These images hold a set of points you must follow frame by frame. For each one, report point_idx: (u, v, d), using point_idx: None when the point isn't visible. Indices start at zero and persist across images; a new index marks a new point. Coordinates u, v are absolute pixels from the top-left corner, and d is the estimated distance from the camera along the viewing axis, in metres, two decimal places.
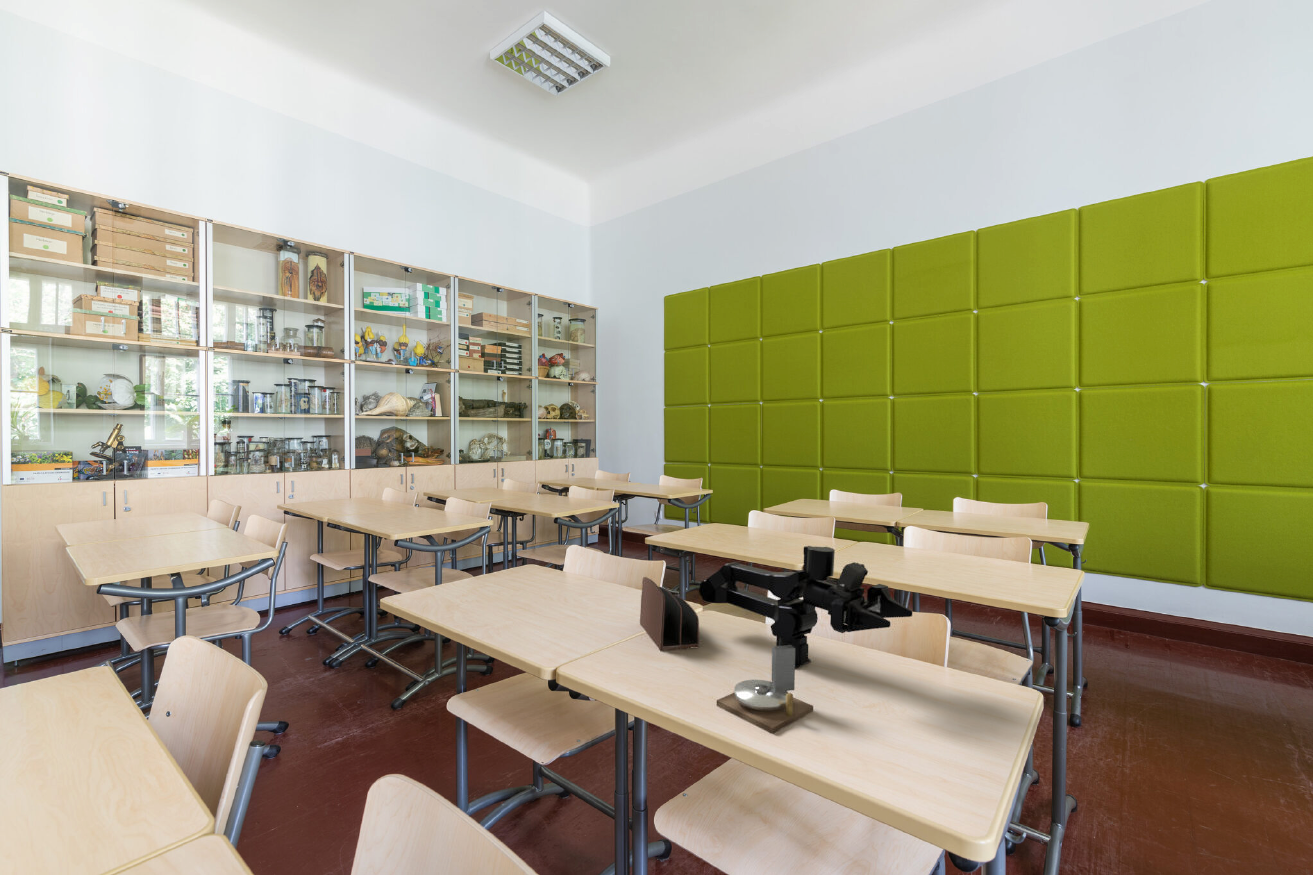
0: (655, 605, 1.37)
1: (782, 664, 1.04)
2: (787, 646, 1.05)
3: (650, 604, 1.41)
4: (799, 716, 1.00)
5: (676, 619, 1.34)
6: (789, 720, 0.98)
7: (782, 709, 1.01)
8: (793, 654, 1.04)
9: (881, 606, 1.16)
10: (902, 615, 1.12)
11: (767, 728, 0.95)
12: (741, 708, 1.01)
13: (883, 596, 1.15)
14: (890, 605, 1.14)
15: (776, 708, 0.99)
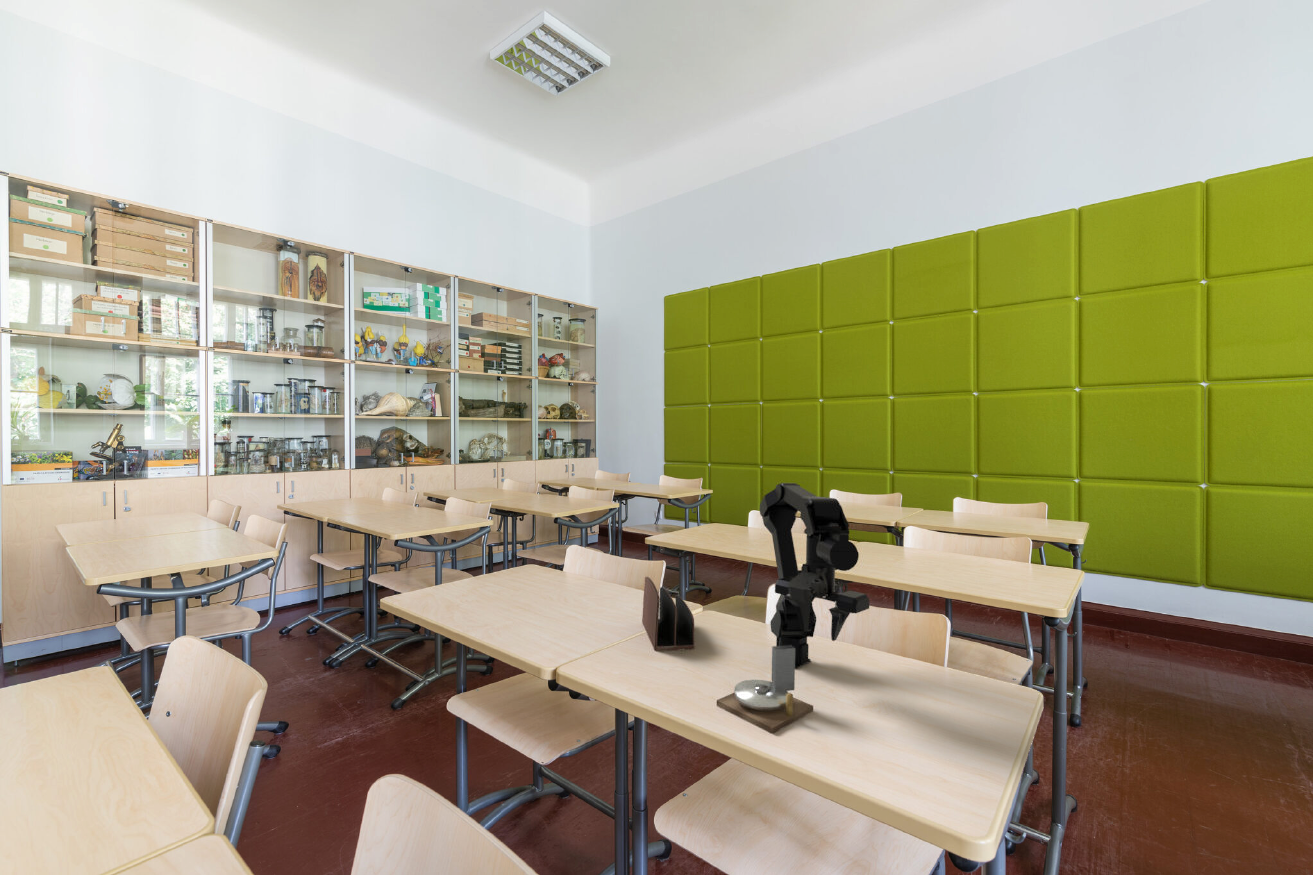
0: (652, 605, 1.37)
1: (782, 664, 1.04)
2: (787, 646, 1.05)
3: (649, 604, 1.41)
4: (799, 716, 1.00)
5: (672, 619, 1.34)
6: (789, 720, 0.98)
7: (782, 709, 1.01)
8: (793, 654, 1.04)
9: None
10: None
11: (767, 728, 0.95)
12: (741, 708, 1.01)
13: None
14: None
15: (776, 708, 0.99)
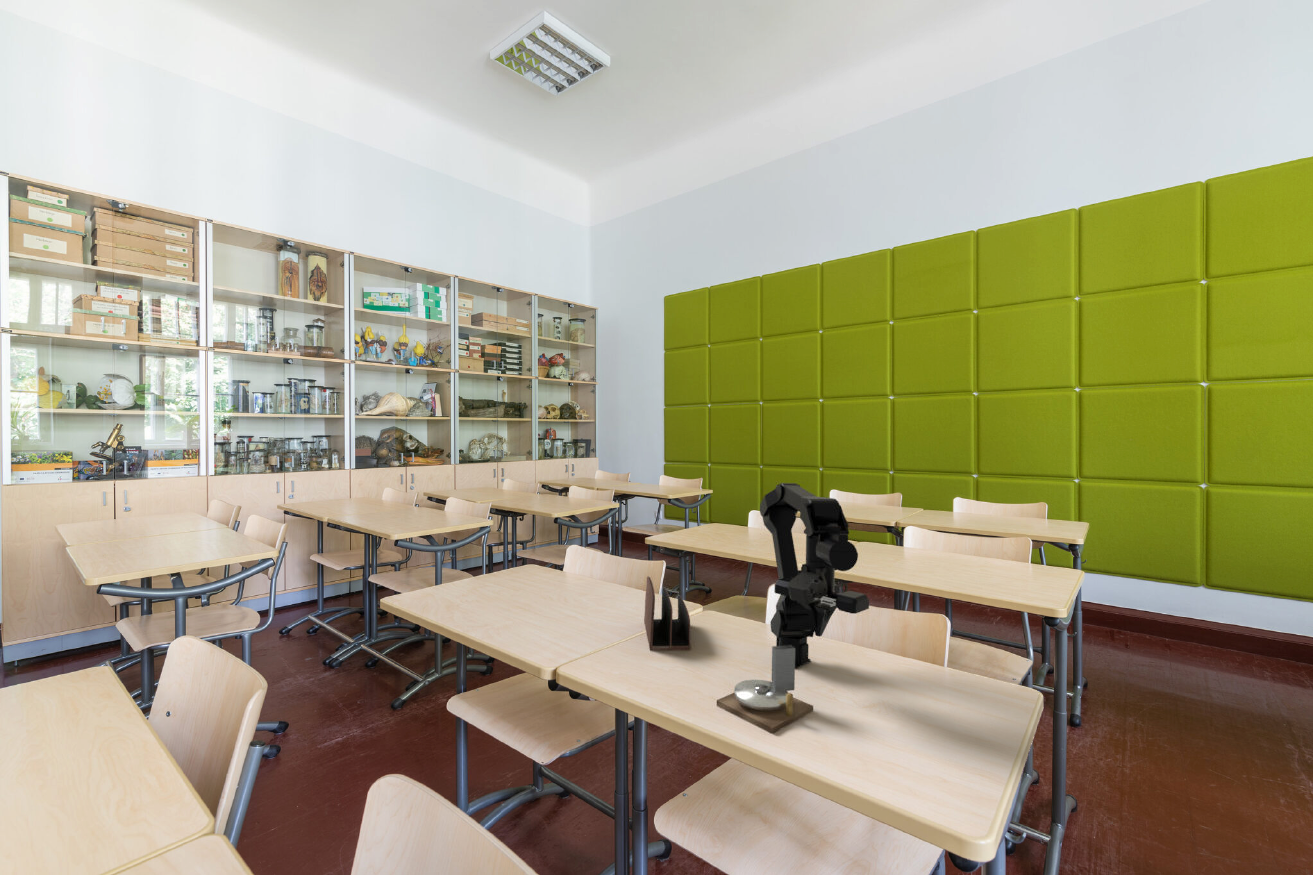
0: (650, 604, 1.37)
1: (782, 664, 1.04)
2: (787, 646, 1.05)
3: (648, 603, 1.41)
4: (799, 716, 1.00)
5: (668, 620, 1.34)
6: (789, 720, 0.98)
7: (782, 709, 1.01)
8: (793, 654, 1.04)
9: None
10: None
11: (767, 728, 0.95)
12: (741, 708, 1.01)
13: None
14: None
15: (776, 708, 0.99)
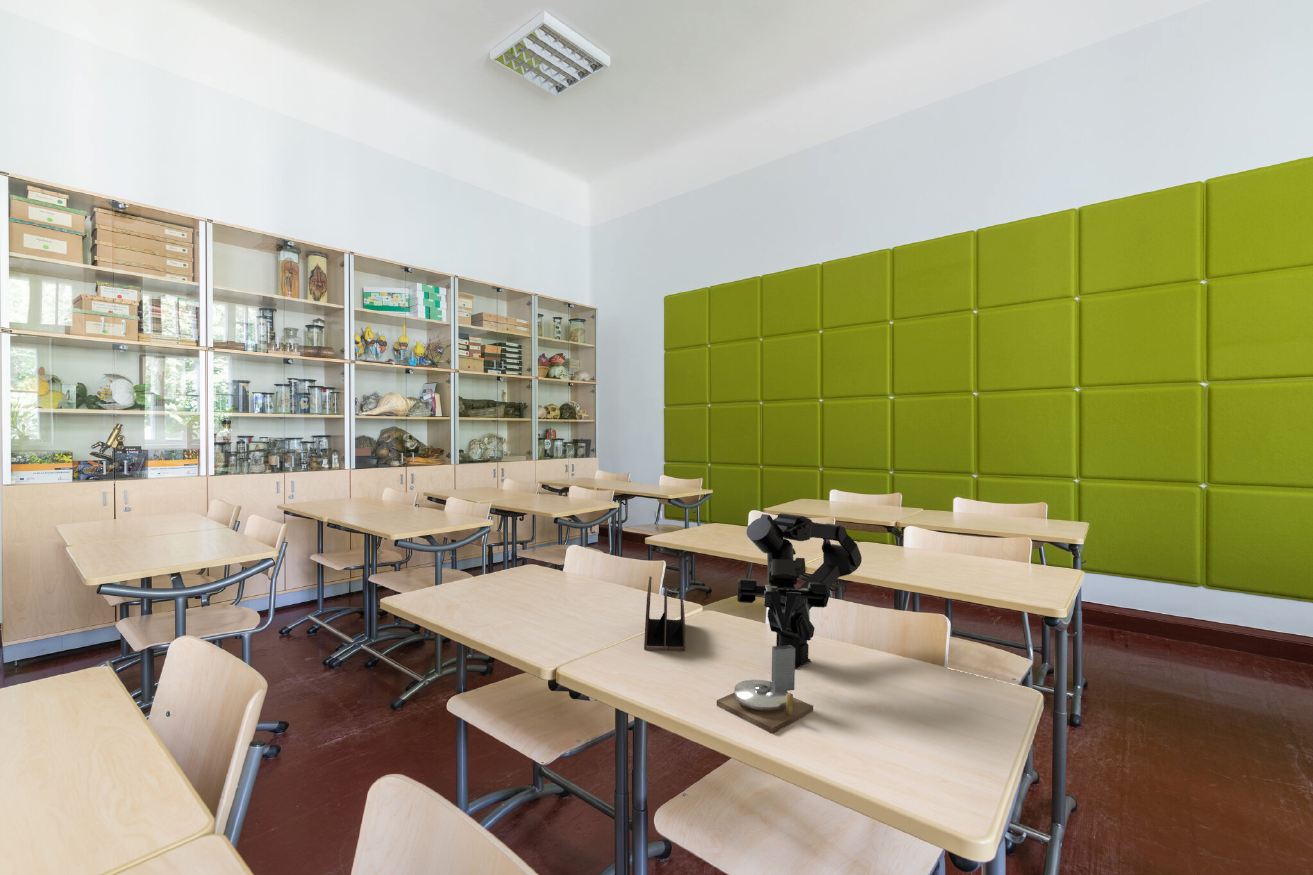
0: None
1: (782, 664, 1.04)
2: (787, 646, 1.05)
3: None
4: (799, 716, 1.00)
5: None
6: (789, 720, 0.98)
7: (782, 709, 1.01)
8: (793, 654, 1.04)
9: (786, 602, 1.15)
10: None
11: (767, 728, 0.95)
12: (741, 708, 1.01)
13: (786, 598, 1.13)
14: None
15: (776, 708, 0.99)
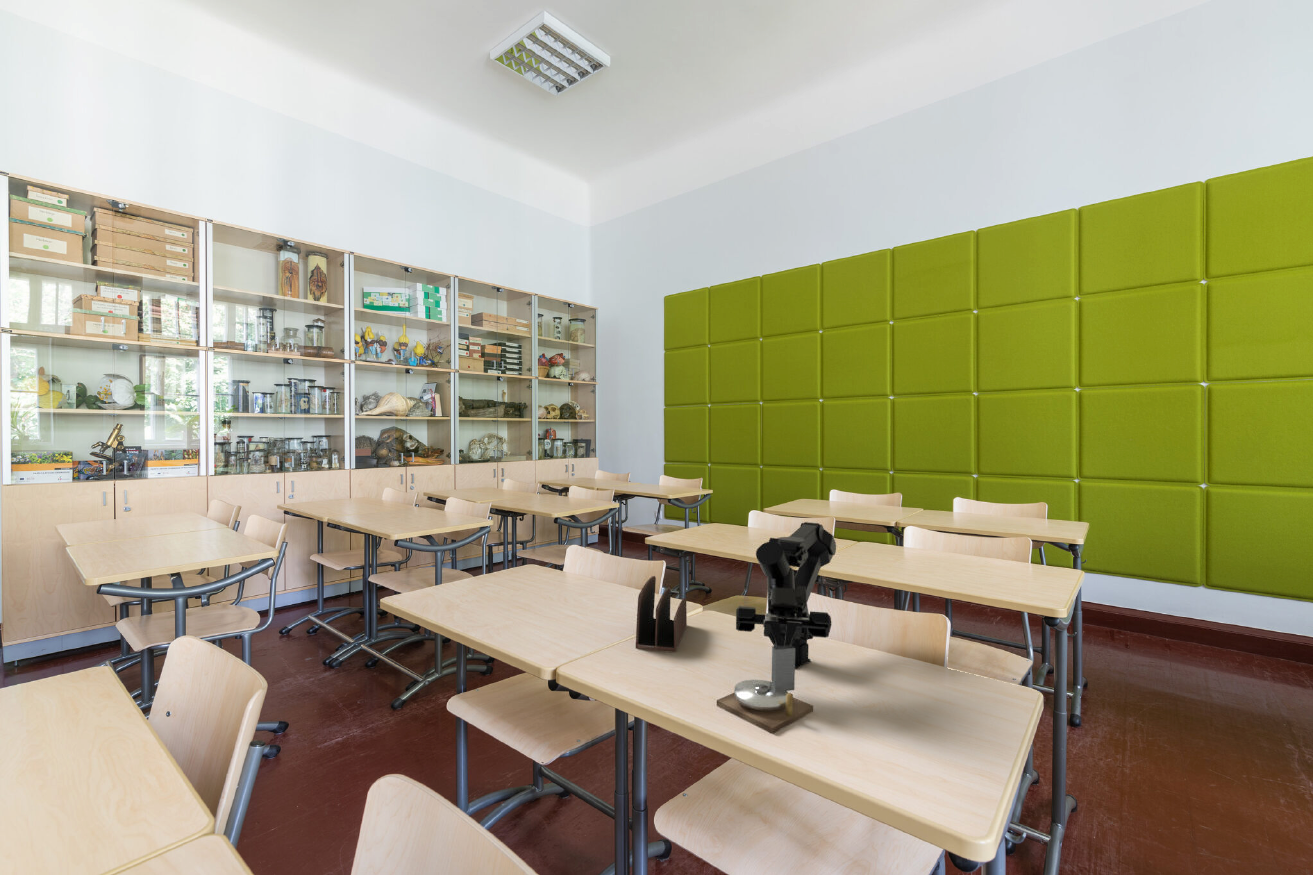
0: None
1: (782, 664, 1.04)
2: (787, 646, 1.05)
3: None
4: (799, 716, 1.00)
5: None
6: (789, 720, 0.98)
7: (782, 709, 1.01)
8: (793, 654, 1.04)
9: None
10: None
11: (767, 728, 0.95)
12: (741, 708, 1.01)
13: (786, 628, 1.09)
14: None
15: (776, 708, 0.99)
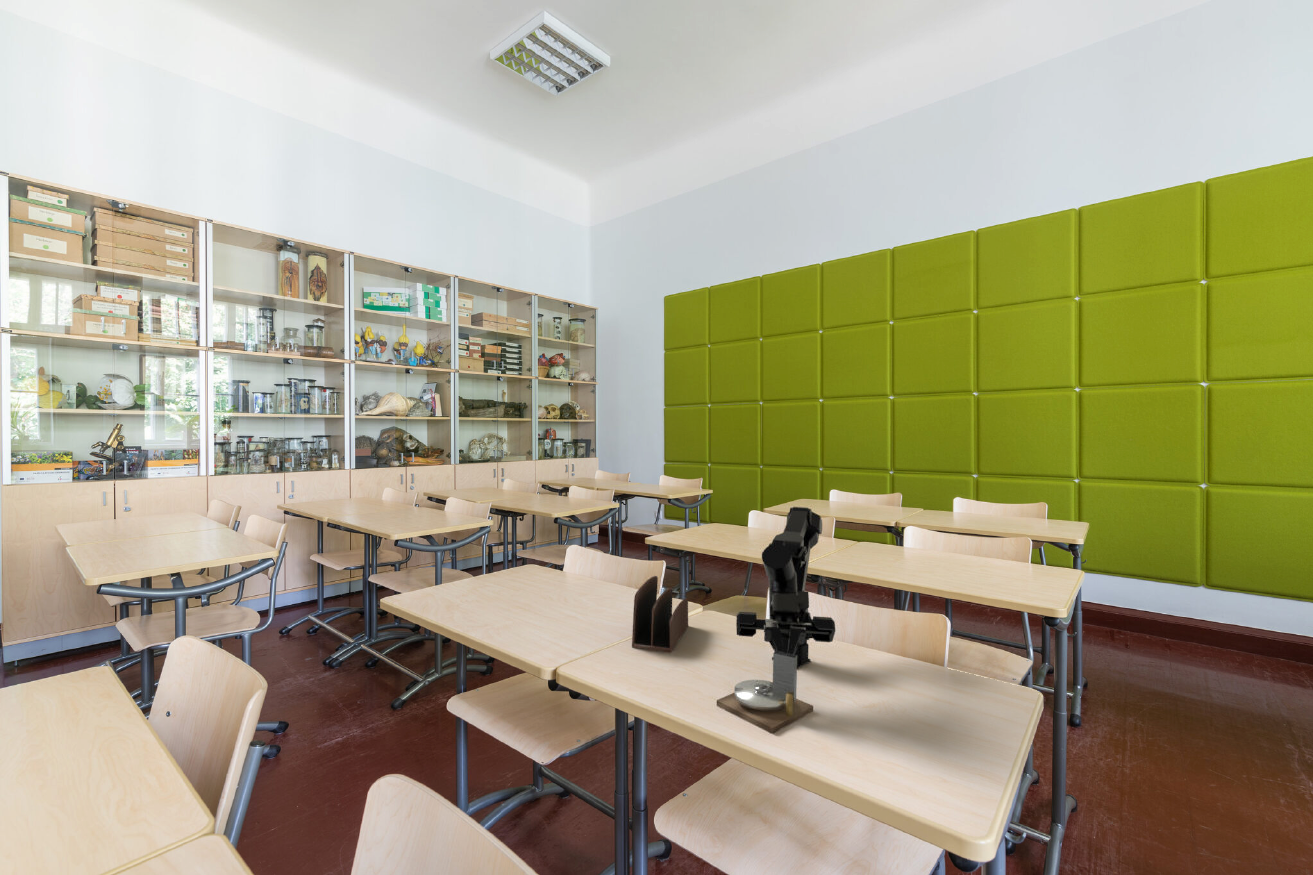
0: None
1: (780, 670, 1.01)
2: (790, 654, 1.01)
3: None
4: (799, 716, 1.00)
5: None
6: (789, 720, 0.98)
7: (782, 709, 1.01)
8: (792, 664, 1.00)
9: (789, 637, 1.07)
10: None
11: (767, 728, 0.95)
12: (741, 708, 1.01)
13: (789, 634, 1.05)
14: (788, 645, 1.05)
15: (755, 708, 0.99)
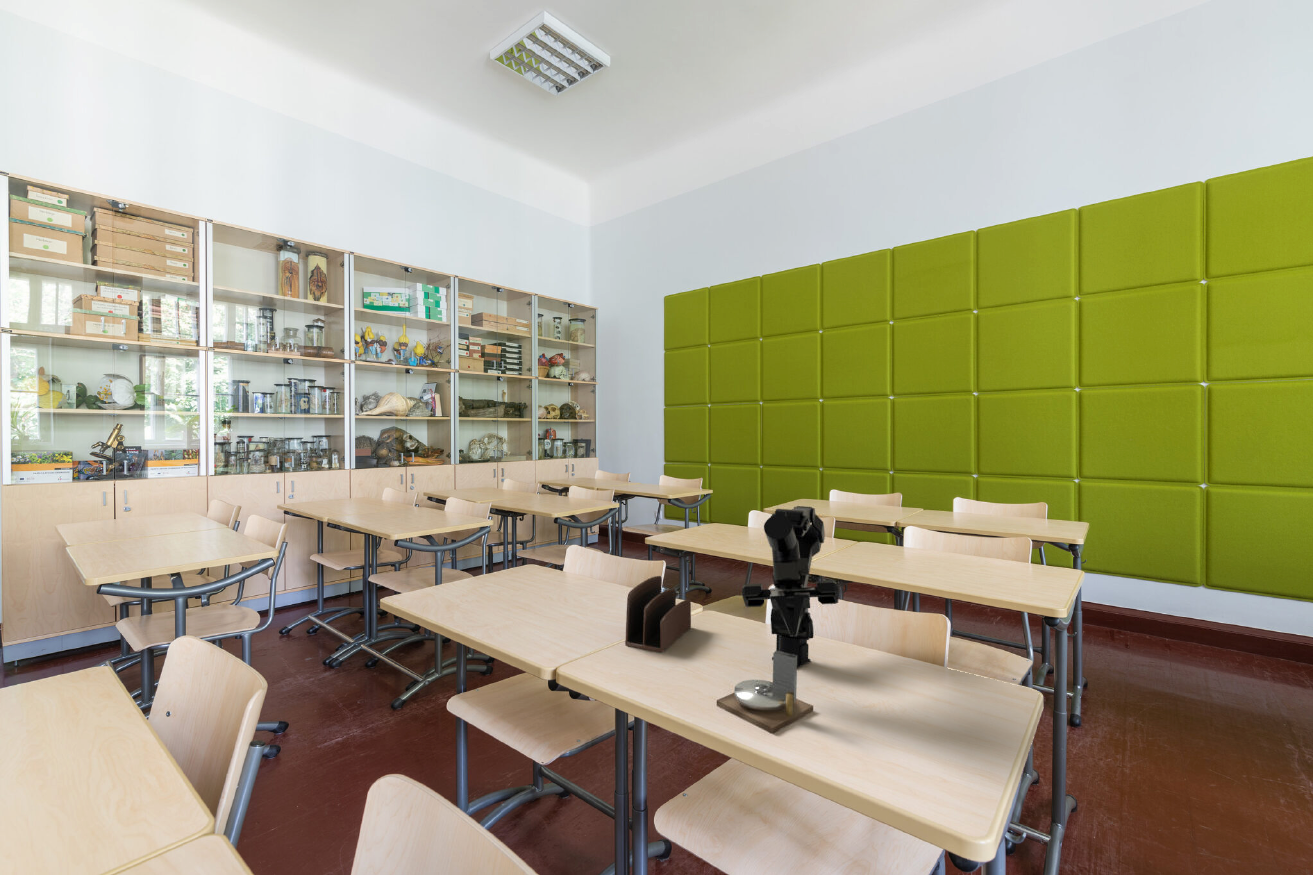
0: None
1: (780, 670, 1.01)
2: (790, 654, 1.01)
3: None
4: (799, 716, 1.00)
5: None
6: (789, 720, 0.98)
7: (782, 709, 1.01)
8: (792, 664, 1.00)
9: None
10: None
11: (767, 728, 0.95)
12: (741, 708, 1.01)
13: (794, 600, 1.09)
14: (794, 611, 1.09)
15: (755, 708, 0.99)
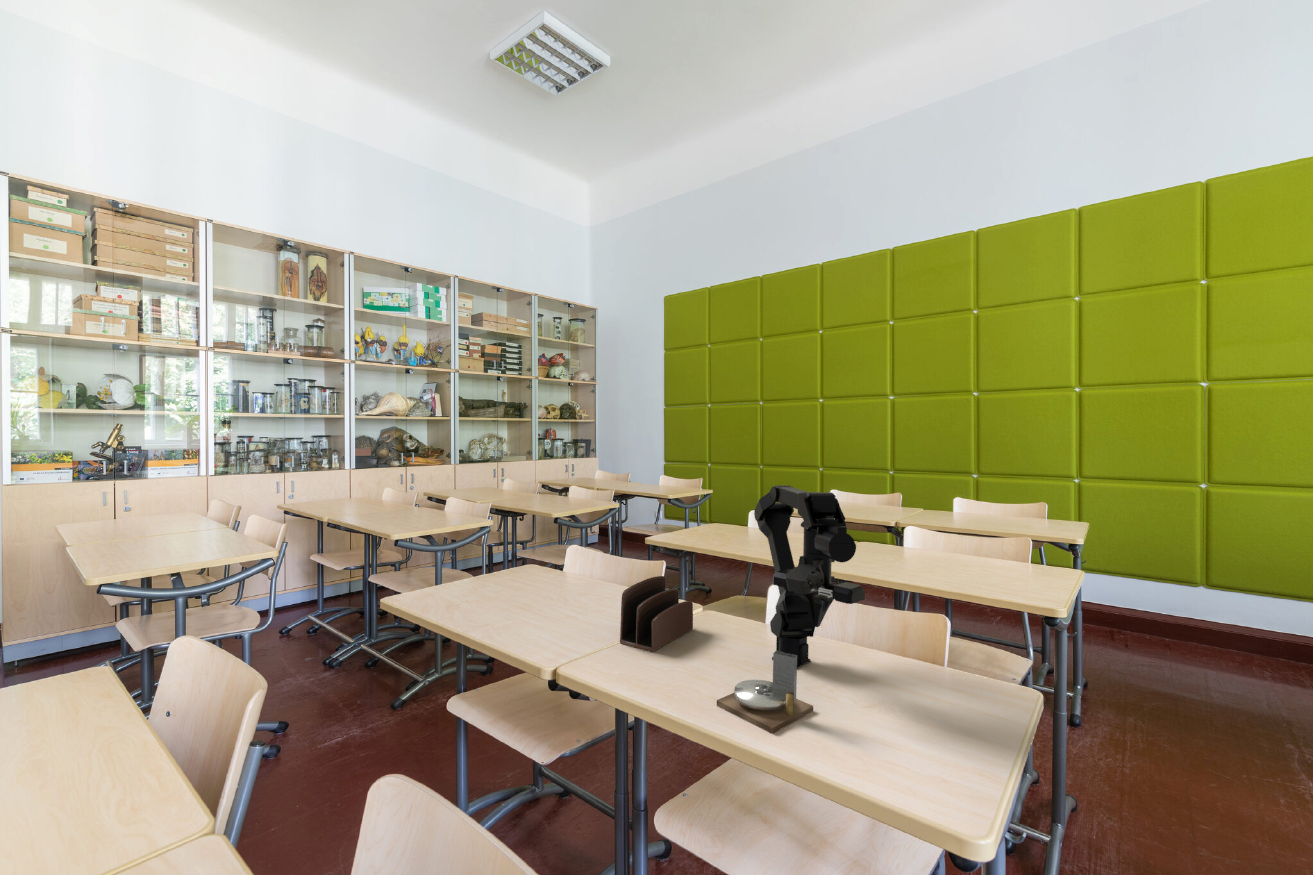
0: None
1: (780, 670, 1.01)
2: (790, 654, 1.01)
3: None
4: (799, 716, 1.00)
5: None
6: (789, 720, 0.98)
7: (782, 709, 1.01)
8: (792, 664, 1.00)
9: None
10: None
11: (767, 728, 0.95)
12: (741, 708, 1.01)
13: None
14: None
15: (755, 708, 0.99)
